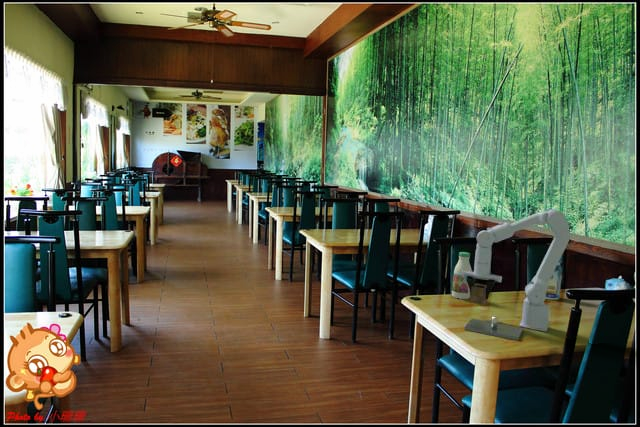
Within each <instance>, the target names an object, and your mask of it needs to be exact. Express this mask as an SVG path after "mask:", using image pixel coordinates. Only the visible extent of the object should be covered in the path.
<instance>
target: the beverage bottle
mask: <svg viewBox="0 0 640 427" xmlns="http://www.w3.org/2000/svg"><path fill="white" fill-rule="evenodd" d="M562 262H563V255H562V256H561V258H560V260H559V262H558V264H557V266H556V268H555V270H554V272H553V274H552V276H551V278H550V280H549V283H548V288H547V290H546V298H545V300H546V299H547V300H556V301H557V300H559V299H560V292H561V287H562V286H561V285H562V284H561V283H562V278H563V275H562V274H563V267H562V265H561V264H562Z"/></svg>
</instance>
